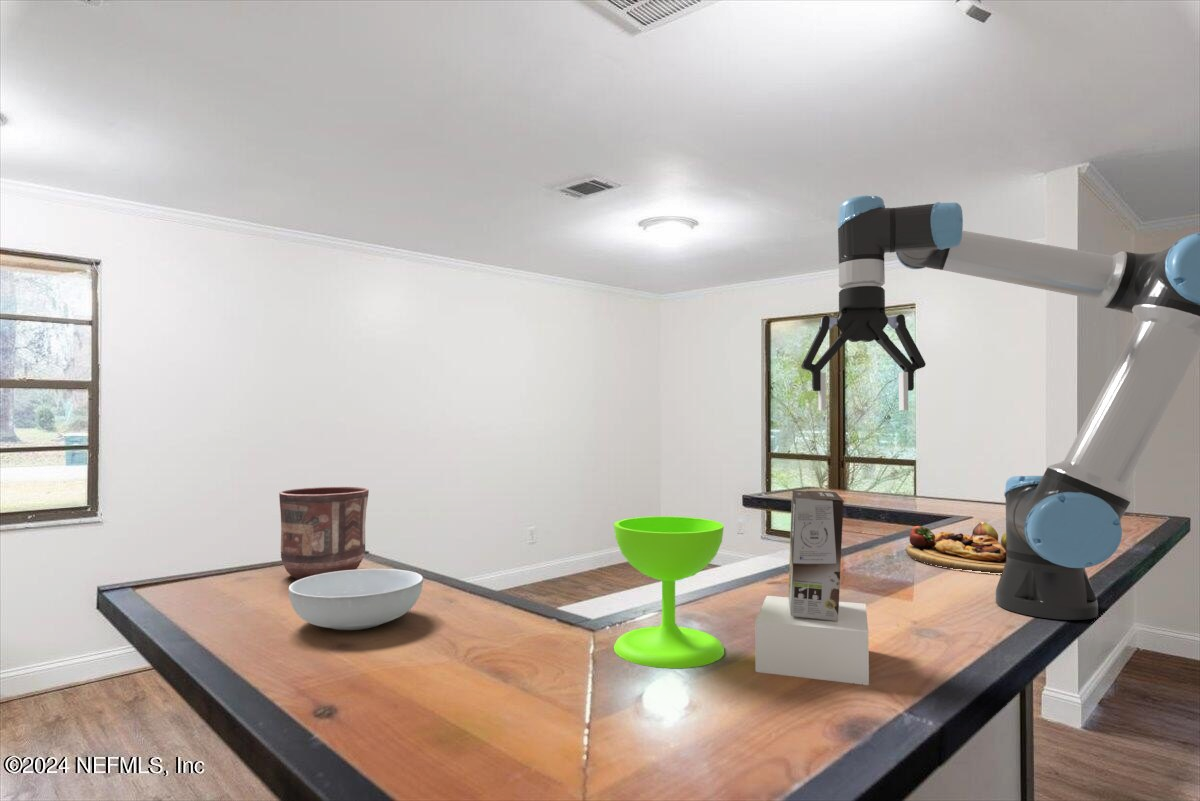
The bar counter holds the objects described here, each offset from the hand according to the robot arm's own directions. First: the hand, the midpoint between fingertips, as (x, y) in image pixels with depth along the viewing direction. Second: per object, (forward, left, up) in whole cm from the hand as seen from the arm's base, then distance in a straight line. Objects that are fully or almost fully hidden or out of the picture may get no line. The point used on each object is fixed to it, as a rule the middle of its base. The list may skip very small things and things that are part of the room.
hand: (862, 410), depth 121 cm
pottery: (+107, -16, -35) cm, 114 cm away
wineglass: (+33, +23, -35) cm, 53 cm away
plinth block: (+13, +26, -35) cm, 45 cm away
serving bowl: (+84, +16, -35) cm, 92 cm away
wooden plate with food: (-38, -48, -36) cm, 71 cm away
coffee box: (+13, +25, -28) cm, 40 cm away
